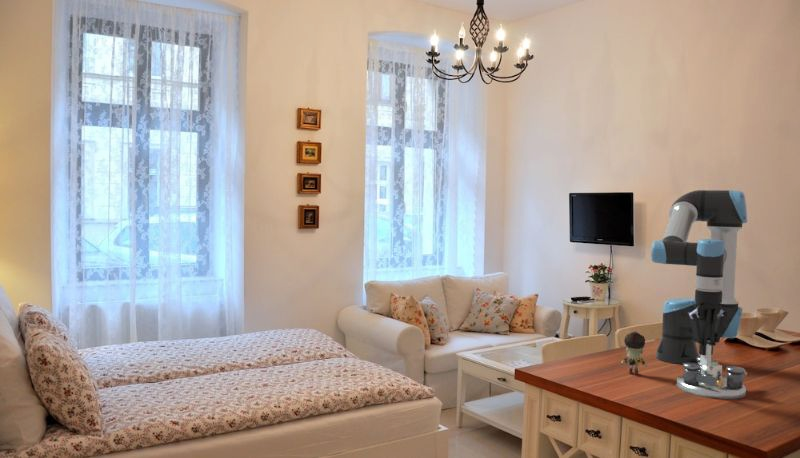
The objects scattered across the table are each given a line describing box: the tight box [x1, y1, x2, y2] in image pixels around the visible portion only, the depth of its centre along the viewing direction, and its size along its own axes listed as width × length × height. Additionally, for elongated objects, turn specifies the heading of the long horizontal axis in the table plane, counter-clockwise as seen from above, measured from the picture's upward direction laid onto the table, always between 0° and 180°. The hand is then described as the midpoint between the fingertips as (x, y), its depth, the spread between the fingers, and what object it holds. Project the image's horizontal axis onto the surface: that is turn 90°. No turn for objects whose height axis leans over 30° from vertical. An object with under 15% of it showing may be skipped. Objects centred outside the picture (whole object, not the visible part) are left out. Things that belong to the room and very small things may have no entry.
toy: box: [620, 331, 648, 375], centre depth 219 cm, size 9×7×15 cm
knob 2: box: [682, 362, 724, 387], centre depth 198 cm, size 13×5×6 cm, turn 31°
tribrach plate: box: [676, 361, 747, 400], centre depth 203 cm, size 20×20×9 cm
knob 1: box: [696, 355, 719, 373], centre depth 213 cm, size 13×5×6 cm, turn 136°
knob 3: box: [725, 365, 748, 389], centre depth 201 cm, size 13×5×6 cm, turn 137°
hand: (705, 365), depth 195 cm, fingers closed
